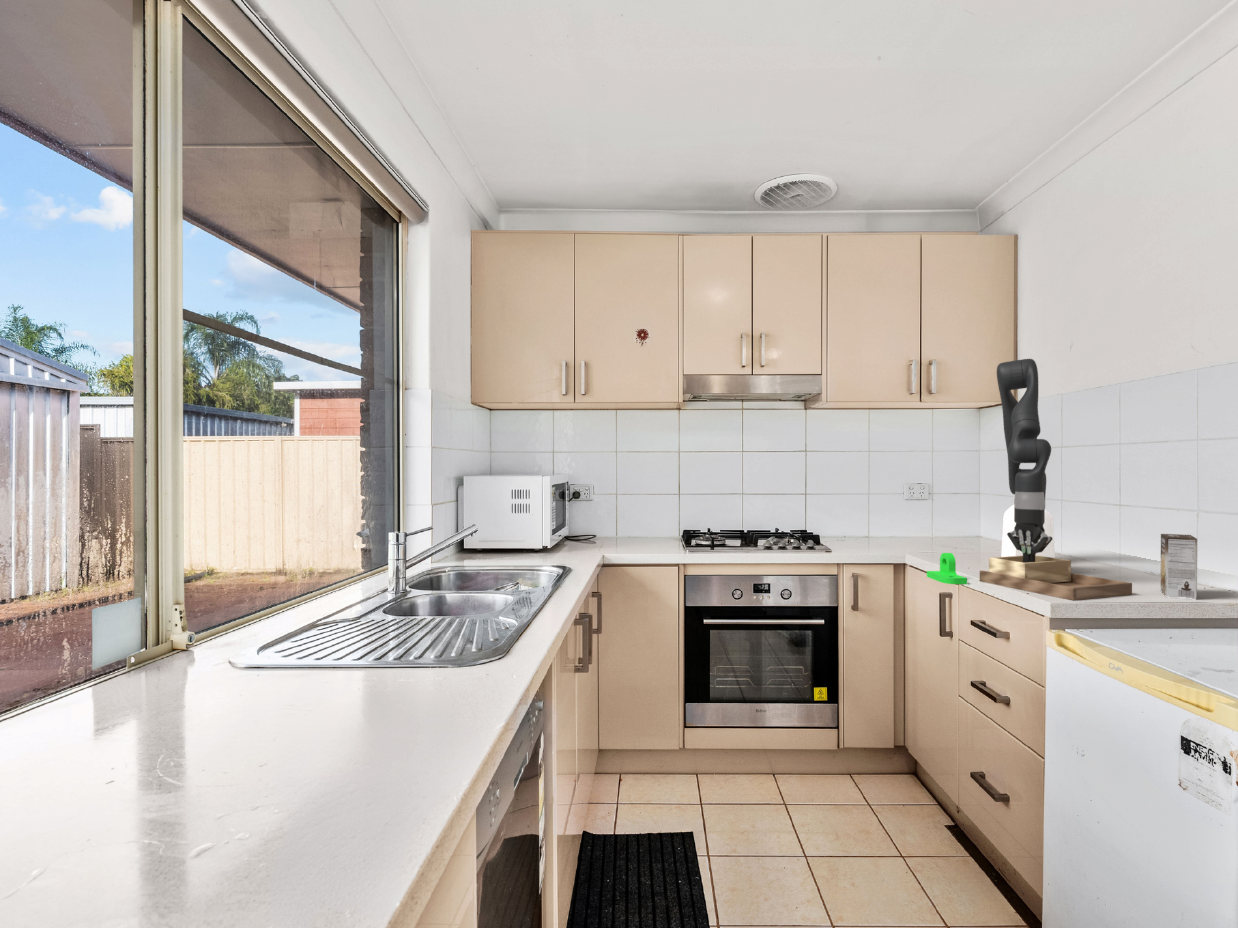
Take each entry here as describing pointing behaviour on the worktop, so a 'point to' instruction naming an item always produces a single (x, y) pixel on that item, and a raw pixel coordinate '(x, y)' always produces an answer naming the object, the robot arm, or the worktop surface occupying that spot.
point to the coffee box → (1179, 565)
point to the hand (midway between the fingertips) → (1029, 566)
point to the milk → (1010, 549)
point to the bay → (1063, 586)
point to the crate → (1033, 568)
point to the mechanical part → (947, 571)
